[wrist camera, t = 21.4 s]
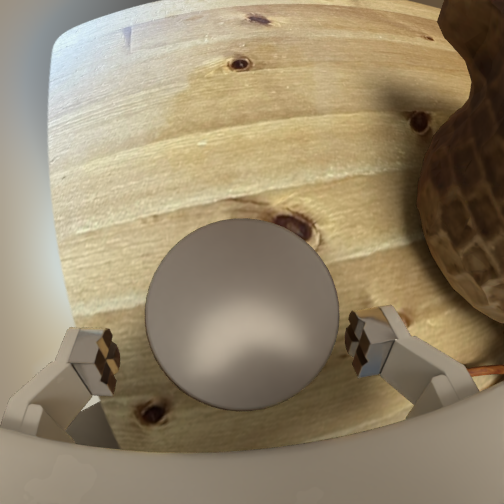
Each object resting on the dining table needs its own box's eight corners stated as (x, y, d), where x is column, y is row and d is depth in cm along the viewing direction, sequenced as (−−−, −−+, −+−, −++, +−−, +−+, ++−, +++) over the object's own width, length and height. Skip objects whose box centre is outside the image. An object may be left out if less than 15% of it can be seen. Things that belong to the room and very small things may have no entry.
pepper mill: (220, 376, 18) (192, 472, 5) (180, 300, 19) (83, 257, 6) (296, 336, 19) (403, 358, 6) (256, 261, 20) (292, 155, 7)
